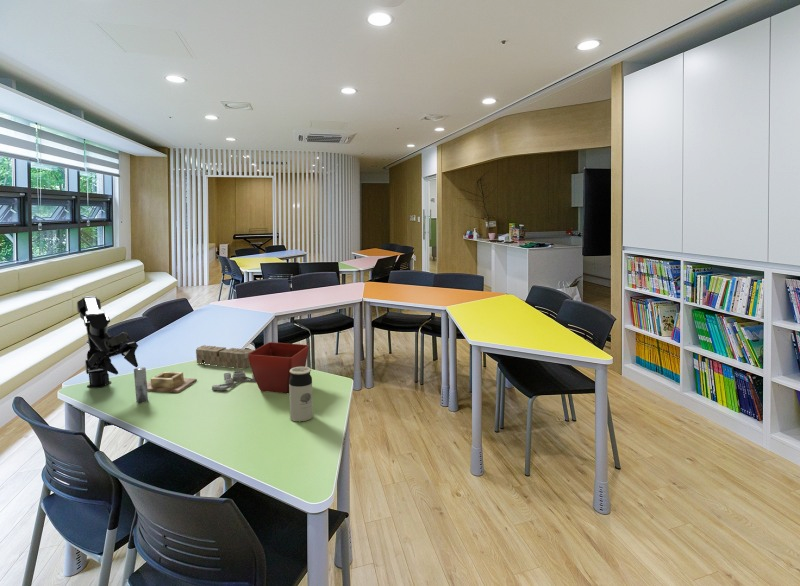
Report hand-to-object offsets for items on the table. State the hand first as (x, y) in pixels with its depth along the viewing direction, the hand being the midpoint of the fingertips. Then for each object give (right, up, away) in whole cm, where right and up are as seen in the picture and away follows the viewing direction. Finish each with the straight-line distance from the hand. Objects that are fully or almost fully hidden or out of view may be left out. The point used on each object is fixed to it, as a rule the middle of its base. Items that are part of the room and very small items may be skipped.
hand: (127, 370), depth 182 cm
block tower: (+20, -5, +47) cm, 51 cm away
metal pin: (+5, -12, 0) cm, 13 cm away
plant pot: (+55, -10, +16) cm, 59 cm away
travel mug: (+70, -15, -13) cm, 73 cm away
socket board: (+7, -9, +17) cm, 21 cm away
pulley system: (+37, -10, +23) cm, 45 cm away
